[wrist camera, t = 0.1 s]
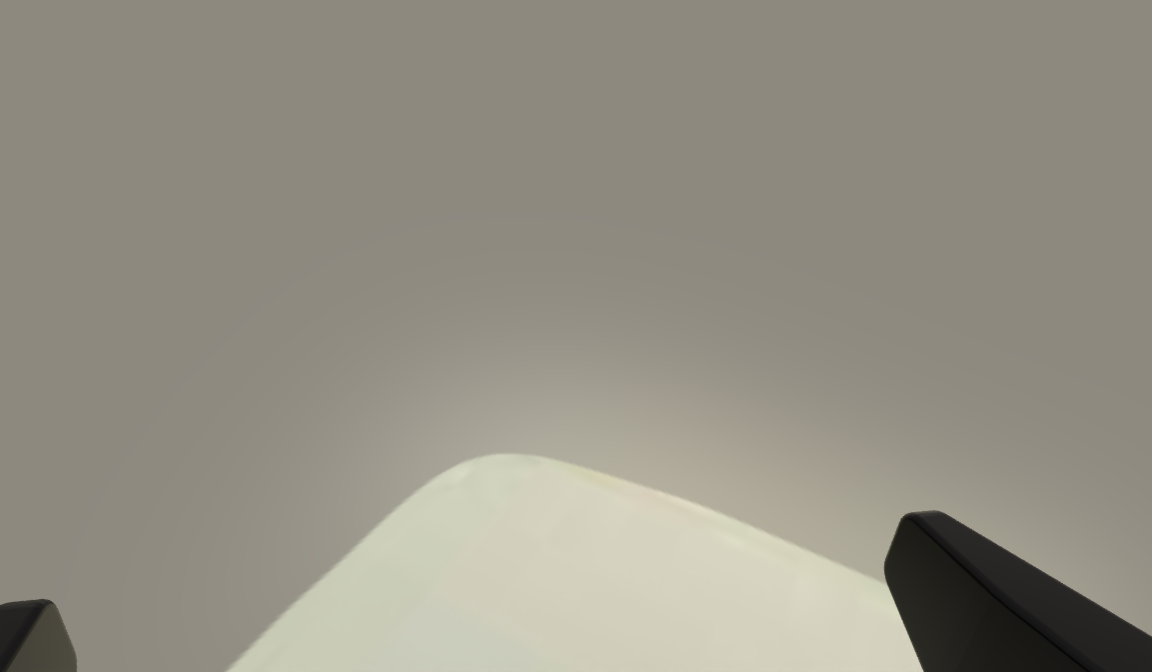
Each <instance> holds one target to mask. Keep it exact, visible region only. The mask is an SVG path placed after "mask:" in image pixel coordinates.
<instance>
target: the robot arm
mask: <svg viewBox="0 0 1152 672" xmlns="http://www.w3.org/2000/svg"><path fill="white" fill-rule="evenodd" d="M884 573H885V578H886V582H887V585H888V587H889V590H890V592H891V595H892V597H893V599H894V602H895V604H896V607H897V609H898V611H899V614H900V616H901V619H902V621H903V623H904V626H905V628H906V631H907V633H908V635H909V638H910V640H911V643H912V645H913V647H914V650H915V652H916V655H917V657H918V659H919V662H920V664H921V667H922V669H923V671H924V672H1152V636H1150V635H1148V634H1146V633H1145V632H1143V631H1142V630H1140V629H1138V628H1136V627H1135V626H1133V625H1132V624H1130V623H1128V622H1126V621H1125V620H1123V619H1122V618H1120V617H1118V616H1117V615H1115V614H1113V613H1112V612H1110V611H1108V610H1107V609H1105V608H1103V607H1101V606H1100V605H1098V604H1096V603H1095V602H1093V601H1091V600H1090V599H1088V598H1086V597H1085V596H1083V595H1081V594H1080V593H1078V592H1076V591H1074V590H1073V589H1071V588H1069V587H1067V586H1066V585H1064V584H1063V583H1061V582H1059V581H1058V580H1056V579H1054V578H1052V577H1051V576H1049V575H1048V574H1046V573H1044V572H1042V571H1041V570H1039V569H1038V568H1036V567H1034V566H1033V565H1031V564H1029V563H1028V562H1026V561H1024V560H1022V559H1021V558H1019V557H1017V556H1016V555H1014V554H1012V553H1011V552H1009V551H1007V550H1006V549H1004V548H1002V547H1001V546H999V545H997V544H996V543H994V542H992V541H991V540H989V539H987V538H986V537H984V536H982V535H980V534H979V533H977V532H975V531H974V530H972V529H970V528H969V527H967V526H965V525H964V524H962V523H960V522H959V521H956V520H955V519H953V518H952V517H950V516H948V515H947V514H945V513H943V512H940V511H934V510H933V511H922V512H911V513H908V514H906V515H904V516H903V518H901V520H900V522H899V524H898V527H897V529H896V532H895V535H894V537H893V540H892V542H891V545H890V548H889V550H888V553H887V556H886V558H885V562H884ZM0 672H77V658H76V653H75V650H74V647H73V645H72V643H71V640H70V638H69V635H68V633H67V630H66V628H65V625H64V623H63V620H62V618H61V615H60V613H59V610H58V608H57V607H56V605H55V604H54V603H53V602H52V601H50V600H46V599H39V600H28V601H19V602H9V603H5V604H2V605H0Z"/></svg>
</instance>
